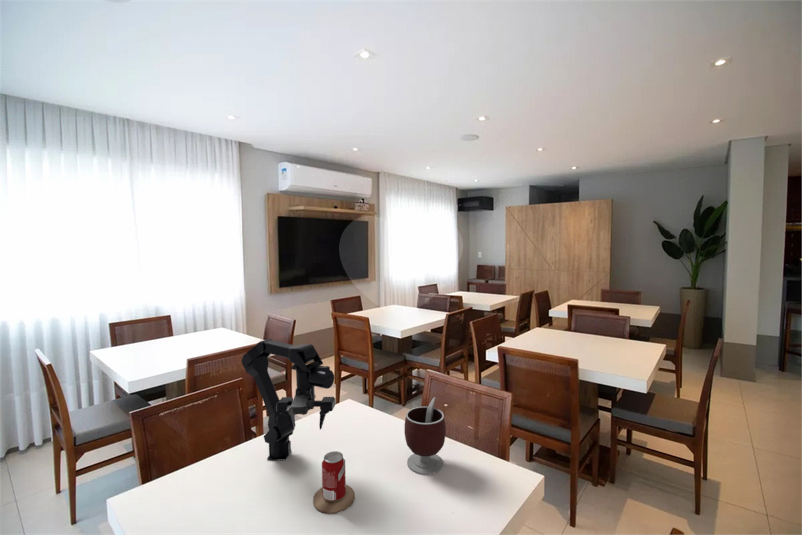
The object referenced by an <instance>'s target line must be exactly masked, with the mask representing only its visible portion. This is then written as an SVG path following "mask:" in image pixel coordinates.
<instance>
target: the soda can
mask: <svg viewBox="0 0 802 535" xmlns="http://www.w3.org/2000/svg"><path fill="white" fill-rule="evenodd" d="M343 454H344V453H342V452H340V451H335V450H334V451H330V452H327V453H325V455H324V456H323V460H322V461H321V485H322V487H321V488H322V496H323V498H324V499H325V500H326V501H329V502H335V501H338V500H341V499H342V498H343V497H344V496H345V494H346V485H347V483H346V459H345V458H344V455H343Z"/></svg>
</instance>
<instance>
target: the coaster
mask: <svg viewBox="0 0 802 535" xmlns="http://www.w3.org/2000/svg"><path fill="white" fill-rule="evenodd" d="M355 499H356V498H355V490H354V489H353V488H352V487H351V486H349V484H346V494H345V496H344V497H343V498H342V499H341V500H338V501H335V502H329V501H326V500H325V499H324V498H323V496H322V487H320V488H319V489H318V490H316V492H315V494H314V495H313V499H312V505H313V508H314V509H315V510H316V511H317V512H320V513H322V514H326V515H333V514H334V515H335V514H339V513H342V512H344V511H346V510H347V509H349V508H350V507H351V506H352V505H353V503H354V502H355Z"/></svg>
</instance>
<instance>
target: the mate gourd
mask: <svg viewBox="0 0 802 535" xmlns="http://www.w3.org/2000/svg"><path fill="white" fill-rule="evenodd" d="M436 400H437V398H436V397H435V396H434V397H433V398H432V399H431V401H430V402H429V404H428V406H417V407H413V408H411V409H410V408H409V410H408V411H407V412H406V413H405V419H404V437H405V439H404V440H405V443H406V446H407V447H408V449H410V451H411V452H412V453H413V454H411V455H410V456H409V457H408V458H407V461H406V465H407V467H408V469H409V470H410V471H411V472H413V473H414V472H415V474H417V475H421V474H422V476H430V475H429V474H431V475H435V474H437V473H439V472H440V471H441V470H442V469H443V468H444V460H443V458H442V457H441V456H439V455H438V453H439V452H440V451H441V450H442V448H443V447H444V444H445V441H446V435H447V434H446V433H447V432H446V430H447V429H446V419H445V415H444V412H443V411H442V410H440V409H438V408H435V401H436ZM442 467H443V468H442ZM434 473H435V474H434Z"/></svg>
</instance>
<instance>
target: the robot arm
mask: <svg viewBox="0 0 802 535" xmlns="http://www.w3.org/2000/svg"><path fill="white" fill-rule="evenodd" d="M271 355H273V356H276V357H277V356H278V357H282V358H284V359H285V358H286V359H287V360H289V362H290V363H292V364H293V365H292V366H291V367H290V369H291V370H293V371H295V377H296V378H295V380H296V389H295V392H294V393H295V395H294V397H292V396H282V397H281V398H280V397H279V396H278V393H277V391H276V388H275V385H274V383H273V381H272V378H271V376H270V374H269V370H268V369H269V365H270V364H269V363H270V362H269V359H268V358H269V357H270V356H271ZM323 364H324V362H323V360H322V358H321V357H320V355H319V353H318V351H317V350H316V349H315V345H313V344H311V343H308V344H307V343H306V344H305V343H301V344H291V343H286V342H282V341H277V340H273V339H271V338H268V339H264V340H263V339H262V340H260V341H258V342H257V343H256V344H255V346H253V347H252V348H251V349H249V350H248V351H247V352H246V353H244V354H243V356H242V358H241V365H242V366H243V368H244V369H245V372H246V373H247V374H248V375H250V376H251V377H253V378H254V381H255V383H256V386H257V388H258V391H259V393H260V396H261V399H262V401H263V403H264V406H265V409H266V411H267V414H268V422H267V427H268V431H267V432H266V433H265V434H264V435H263V438H264V439H263V440H264V442H265V443H266V444H268V457H267V458H266V459H267V460H268V461H286V460H287V458H288V456H289V455H290V454H291V452H292V444H291V443H292V441H291V440H290V436H293V434H294V431H295V428H296V419H295V418H296V415H302V416H304V415H307V414H308V412H309V411H311V410H314V409H315V407H316V408H317V407H319V430H322V429H323V428H322V427H323V425H324V421H325V418H326V415H327V414H329V413H330V412H332V411H333V410H334V409H335V406H336V402H337V400H336V398H335V397H334V396H323V397H322V399H321V400H316V398H317V397H316V392H315V387H318V388H322V389H330V388H331V387H332V386H333V385H334V383H335V373H334V372H333V371H332V370H331V369H330V366H328V365H323Z"/></svg>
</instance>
